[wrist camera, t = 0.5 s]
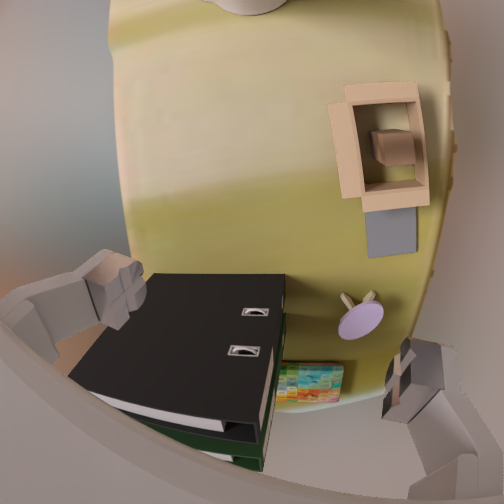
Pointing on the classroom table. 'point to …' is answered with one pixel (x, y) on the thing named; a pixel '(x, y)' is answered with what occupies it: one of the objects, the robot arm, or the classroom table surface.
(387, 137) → the walnut block
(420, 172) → the carton
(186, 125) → the classroom table surface
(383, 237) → the mat
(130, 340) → the pair of binders
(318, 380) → the puzzle game
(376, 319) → the toy table
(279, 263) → the classroom table surface
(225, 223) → the classroom table surface
